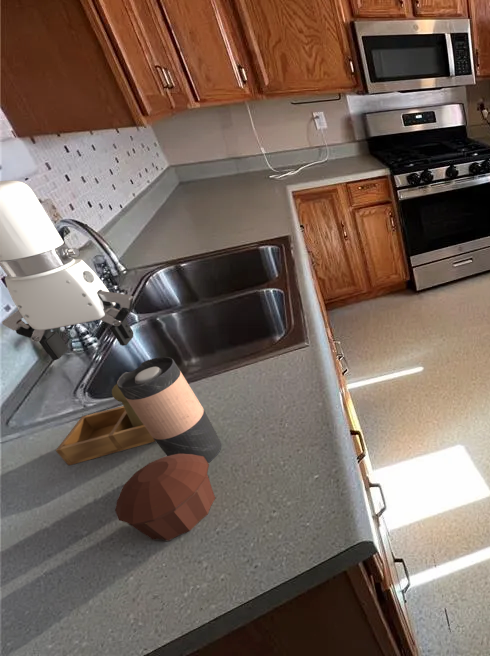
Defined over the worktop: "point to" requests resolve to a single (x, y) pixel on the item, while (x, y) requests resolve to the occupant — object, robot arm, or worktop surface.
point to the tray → (102, 436)
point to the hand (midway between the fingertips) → (95, 348)
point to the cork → (126, 407)
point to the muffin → (167, 496)
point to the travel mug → (169, 409)
